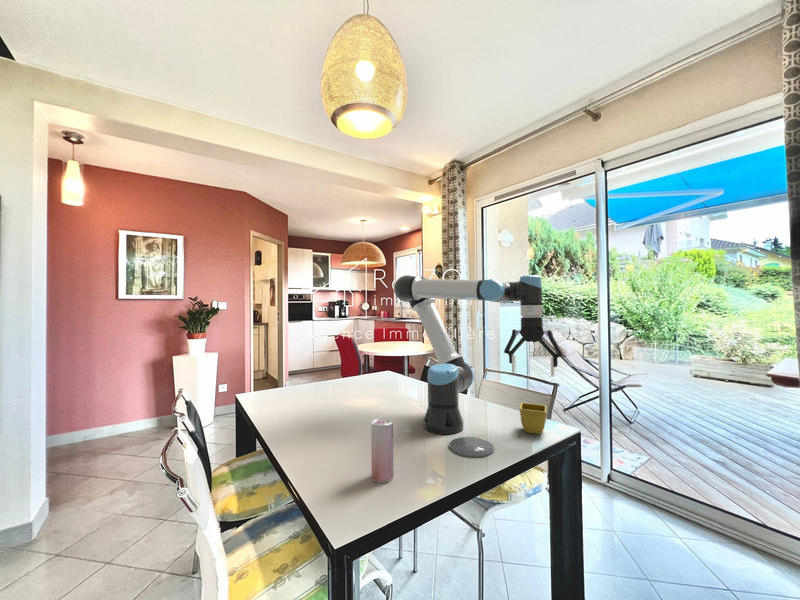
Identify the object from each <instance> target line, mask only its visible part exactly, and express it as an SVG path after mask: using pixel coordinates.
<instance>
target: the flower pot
mask: <svg viewBox="0 0 800 600" xmlns="http://www.w3.org/2000/svg"><path fill="white" fill-rule="evenodd" d="M519 414H520V421H521V425H522V428H523V430H524V432H525V433H530V434H535V435H541V434H542V433H543V431H544V429H545V424H546V416H547V405H543V404H536V403H528V402H521V403H520V408H519Z"/></svg>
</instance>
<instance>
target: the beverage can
mask: <svg viewBox="0 0 800 600" xmlns="http://www.w3.org/2000/svg"><path fill="white" fill-rule="evenodd" d="M370 430H371V431H370V432H371V433H370V438H371V439H370V443H371V446H370V447H371V449H370V450H371V453H370V457H371V459H370V461H371V462H370V463H371V465H370V466H371V468H370V469H371V471H370V472H371V479H372V480H373V482H375V483H379V484H385V483H389V482H390V481H392V479H393V478H394V475H395V474H394V472H395V471H394V469H395V468H394V424H393V420H392V419H389V418H386V417H385V418H375V419H372V421H371V425H370Z"/></svg>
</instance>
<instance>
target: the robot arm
mask: <svg viewBox="0 0 800 600" xmlns="http://www.w3.org/2000/svg"><path fill="white" fill-rule="evenodd" d="M393 286H394V287H393V290H394V295H395V296H396V298H397V299H399V300H400V301H402V302H406V303H409V305H410V308H411V309H412V311H414V312H416V313H417V315H418V317H419V320H420V322H421V325H422V327H423V329H424V332H425V334H426V336H427V338H428V340H429V342H430V345H431V347H432V349H433V351H434V354H435V356H436V359H437V361H438V362H437V364H434V365H432V366H430V367H429V368H428V370H427V409H426V413H425V415H424V419H423V428H424V429H425V430H426V431H428V432H430V433H432V434H433V433H434V434H437V435H438V434H439V435H452V434H458V433H460V432H463V430H464V421H463V418H462V414H461V411H460V408H459V394H460V393H462V392H465V391H466V390H468V389H469V388H470V387H471V386H472V384H473V383H474V380H475V374H474V370H473V368H472V367H471V365H470V364H468V363H467V362H465V359H464V357H463V355H461V354H459V353H457V351H456V349H455V347H454V344H453V343H452V339H451V337H450V336H449V334H448V333H449V332H448V331H447V329H446V327H445V324H444V323H443V321H442V318H441V316H440V314H439V312H438V309H437V308H436V305H435V302H436V299H439V300H441V299H442V300H443V299H444V300H464V301H465V300H466V301H485V302H486V301H487V302H492V303H500V302H503V303H505V302H520V316H521V317H520V329H512V331H511V332H512V333H511V337H510V338H509V341H508V342H507V344H506V346H505V348H504V351H503V353H504V354H507V355H508V362H509V364H511V373H512V374H514V373H516V372H517V359H516V358H517V357H516V356H517V355H516V354H515V353H516V352H517V351H518V350H519V348H520V347H521V346H522V345H523V344H524V343H525V342H526V343H527V342H528V343H530V342H532V343H537V342H538V343H539V344H541V346H542V347H543V348H544V349H545V350H546V351H547V353H549V355H550V356H552V357H550V377H555V368H557V367H558V365H559V364H558V358H560V357H563V356H564V353H563V351H562V350H561V348H560V346H559V344H558V342H557V341H556V339H555V337H554V335H553V334H554V333H553V330H551V329H549V330H544V326H543V324H544V323H543V322H544V321H543V318H542V316H543V289H542V288H543V287H542V277H541V276H540V275H536V274H535V275H534V274H531V275H530V274H529V275H521V276H520V277H519V281H509V282H508V281H505V282H504V281H500V280H498V279H495V278H493V279H492V278H489V279H429V278H428V279H427V278H425V277H424V276H413V275H407V274H406V275H403V276H400V277H399V278H398V279H396V281H395V282H394V285H393ZM519 335H520V336H521V338H520V339H519V340H518V342H517V343H516V344H515V345H514V346H513V344H514V342H515V341H516V337H517V336H519ZM544 335H545V336H546V337H548V339H549V341H550V344H551V345H552V347H553V348H554V350H555V351H554V350H553V348H552V347H551V346H550V345H549V344H548V343H547V342H546V341H545V339H544V338H543V336H544ZM512 346H513V347H512Z"/></svg>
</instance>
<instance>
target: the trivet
mask: <svg viewBox="0 0 800 600" xmlns="http://www.w3.org/2000/svg"><path fill="white" fill-rule="evenodd" d="M449 449H450V451H451V452H453V453H455V454H456V455H459V456H462V457H465V458H474V459H475V458H480V459H481V458H485V457H486V458H487V457H489V456H491V455H492V454H493V453H494V449H495V448H494V445H493V444H492V442H490V441H488V440H486V439H483V438H480V437H474V436H472V437H471V436H463V437H461V436H460V437H457V438H456V437H455V438H454V439H452V440H451V441H450V442H449Z"/></svg>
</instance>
